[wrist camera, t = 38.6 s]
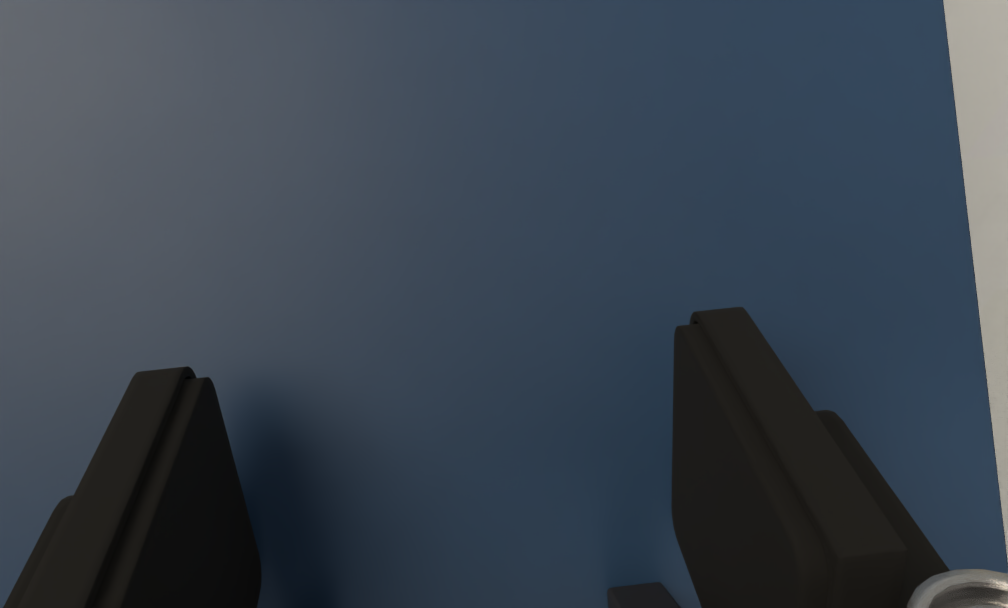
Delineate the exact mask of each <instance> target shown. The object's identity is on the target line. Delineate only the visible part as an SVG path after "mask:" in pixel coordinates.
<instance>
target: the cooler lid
mask: <svg viewBox="0 0 1008 608" xmlns="http://www.w3.org/2000/svg"><path fill="white" fill-rule="evenodd" d="M732 307H743V308H744V309H745V310H746V311H747V312H748V314H749V315H750V317H751V318H752V320H753V321H754V323H755V324H756V326H757V327H758V329H759V330H760V332H761V333H762V335H763V336H764V338H765V339H766V340H767V342H768V343H769V345H770V346H771V348H772V349H773V351H774V352H775V354H776V355H777V357H778V358H779V360H780V361H781V363H782V364H783V366H784V367H785V369H786V370H787V372H788V373H789V374H790V376H791V377H792V379H793V380H794V382H795V383H796V385H797V386H798V388H799V389H800V391H801V392H802V394H803V395H804V397H805V398H806V400H807V401H808V403H809V404H810V406H811V407H812V409H813V410H814V411H821V410H830V411H833V412H835V413H836V414H837V415H838V416H839V417H840V418H841V419H842V420H843V421H844V423H845V424H846V425H847V427H848V428H849V430H850V431H851V433H852V434H853V435H854V437H855V438H856V440H857V441H858V442H859V444H860V445H861V447H862V448H863V449H864V451H865V452H866V454H867V455H868V456H869V458H870V459H871V461H872V462H873V463H874V465H875V466H876V468H877V469H878V470H879V472H880V473H881V475H882V476H883V477H884V479H885V480H886V482H887V483H888V484H889V486H890V487H891V489H892V490H893V491H894V493H895V494H896V496H897V497H898V498H899V500H900V501H901V503H902V504H903V505H904V507H905V508H906V510H907V511H908V512H909V514H910V515H911V517H912V518H913V519H914V521H915V522H916V524H917V525H918V526H919V528H920V529H921V531H922V532H923V533H924V535H925V536H926V538H927V539H928V540H929V542H930V543H931V545H932V546H933V548H934V549H935V550H936V552H937V553H938V555H939V556H940V557H941V559H942V560H943V562H944V563H945V564H946V566H947V567H948V569H949V570H950V571H952V570H955V569H985V570H990V571H995V572H1001V573H1006V574H1008V562H1007V553H1006V544H1005V536H1004V527H1003V518H1002V509H1001V501H1000V492H999V483H998V475H997V466H996V457H995V448H994V440H993V431H992V422H991V414H990V405H989V396H988V387H987V379H986V370H985V361H984V353H983V344H982V335H981V327H980V318H979V309H978V300H977V292H976V283H975V274H974V266H973V257H972V248H971V239H970V231H969V222H968V213H967V205H966V196H965V187H964V178H963V170H962V161H961V152H960V144H959V135H958V126H957V118H956V109H955V100H954V91H953V83H952V74H951V65H950V57H949V48H948V39H947V30H946V22H945V13H944V4H943V0H0V608H3V607H4V605H5V603H6V601H7V599H8V597H9V595H10V593H11V591H12V589H13V587H14V585H15V584H16V582H17V580H18V578H19V576H20V574H21V572H22V570H23V568H24V566H25V564H26V562H27V560H28V558H29V556H30V555H31V553H32V551H33V549H34V547H35V545H36V543H37V541H38V539H39V537H40V535H41V533H42V531H43V529H44V528H45V526H46V524H47V522H48V520H49V518H50V516H51V514H52V512H53V510H54V509H55V507H56V506H57V505H58V503H59V502H60V501H61V500H62V499H64V498H66V497H67V496H71V495H74V493H75V491H76V489H77V487H78V485H79V483H80V481H81V479H82V477H83V475H84V473H85V471H86V469H87V467H88V465H89V463H90V461H91V459H92V457H93V455H94V453H95V451H96V449H97V447H98V445H99V443H100V441H101V439H102V437H103V435H104V433H105V431H106V429H107V427H108V425H109V423H110V421H111V419H112V417H113V415H114V413H115V411H116V409H117V407H118V405H119V403H120V401H121V399H122V397H123V395H124V393H125V391H126V389H127V387H128V385H129V383H130V381H131V379H132V377H133V376H134V375H135V373H136V372H140V371H149V370H158V369H167V368H177V367H186V366H189V367H190V368H192V370H193V371H194V373H195V375H196V377H197V378H202V377H209V378H210V379H211V380H212V382H213V384H214V387H215V390H216V393H217V397H218V401H219V405H220V409H221V412H222V416H223V420H224V424H225V427H226V431H227V435H228V439H229V442H230V446H231V450H232V454H233V458H234V461H235V465H236V469H237V473H238V476H239V480H240V484H241V488H242V492H243V495H244V499H245V503H246V507H247V510H248V514H249V518H250V522H251V525H252V529H253V533H254V537H255V541H256V544H257V548H258V552H259V556H260V562H261V589H260V594H259V599H258V605H257V608H702V607H701V605H700V602H699V599H698V596H697V594H696V591H695V588H694V585H693V583H692V580H691V577H690V574H689V572H688V569H687V566H686V563H685V561H684V558H683V555H682V553H681V550H680V547H679V544H678V542H677V538H676V535H675V531H674V526H673V520H672V507H671V501H672V437H673V373H674V333H675V328H676V327H677V326H681V325H689V323H690V318H691V315H692V313H693V312H695V311H704V310H713V309H723V308H732Z"/></svg>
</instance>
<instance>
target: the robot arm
mask: <svg viewBox="0 0 1008 608" xmlns="http://www.w3.org/2000/svg"><path fill="white" fill-rule="evenodd" d="M671 507H672V520H673V526H674V531H675V535H676V538H677V542H678V544H679V547H680V550H681V553H682V555H683V558H684V561H685V563H686V566H687V569H688V572H689V574H690V577H691V580H692V583H693V585H694V588H695V591H696V594H697V596H698V599H699V602H700V605H701V607H702V608H1008V574H1006V573H1001V572H995V571H990V570H985V569H955V570H952V571H950V570H949V569H948V567H947V566H946V564H945V563H944V562H943V560H942V559H941V557H940V556H939V555H938V553H937V552H936V550H935V549H934V548H933V546H932V545H931V543H930V542H929V540H928V539H927V538H926V536H925V535H924V533H923V532H922V531H921V529H920V528H919V526H918V525H917V524H916V522H915V521H914V519H913V518H912V517H911V515H910V514H909V512H908V511H907V510H906V508H905V507H904V505H903V504H902V503H901V501H900V500H899V498H898V497H897V496H896V494H895V493H894V491H893V490H892V489H891V487H890V486H889V484H888V483H887V482H886V480H885V479H884V477H883V476H882V475H881V473H880V472H879V470H878V469H877V468H876V466H875V465H874V463H873V462H872V461H871V459H870V458H869V456H868V455H867V454H866V452H865V451H864V449H863V448H862V447H861V445H860V444H859V442H858V441H857V440H856V438H855V437H854V435H853V434H852V433H851V431H850V430H849V428H848V427H847V425H846V424H845V423H844V421H843V420H842V419H841V418H840V417H839V416H838V415H837V414H836V413H835V412H833V411H830V410H821V411H814V410H813V409H812V407H811V406H810V404H809V403H808V401H807V400H806V398H805V397H804V395H803V394H802V392H801V391H800V389H799V388H798V386H797V385H796V383H795V382H794V380H793V379H792V377H791V376H790V374H789V373H788V372H787V370H786V369H785V367H784V366H783V364H782V363H781V361H780V360H779V358H778V357H777V355H776V354H775V352H774V351H773V349H772V348H771V346H770V345H769V343H768V342H767V340H766V339H765V338H764V336H763V335H762V333H761V332H760V330H759V329H758V327H757V326H756V324H755V323H754V321H753V320H752V318H751V317H750V315H749V314H748V312H747V311H746V310H745V309H744V308H743V307H732V308H723V309H713V310H704V311H695V312H693V313H692V315H691V318H690V323H689V325H681V326H677V327H676V328H675V333H674V373H673V437H672V501H671ZM260 589H261V562H260V556H259V552H258V548H257V544H256V541H255V537H254V533H253V529H252V525H251V522H250V518H249V514H248V510H247V507H246V503H245V499H244V495H243V492H242V488H241V484H240V480H239V476H238V473H237V469H236V465H235V461H234V458H233V454H232V450H231V446H230V442H229V439H228V435H227V431H226V427H225V424H224V420H223V416H222V412H221V409H220V405H219V401H218V397H217V393H216V390H215V387H214V384H213V382H212V380H211V379H210V378H209V377H202V378H197V377H196V375H195V373H194V371H193V370H192V368H190V367H189V366H186V367H177V368H167V369H158V370H149V371H140V372H136V373H135V375H134V376H133V377H132V379H131V381H130V383H129V385H128V387H127V389H126V391H125V393H124V395H123V397H122V399H121V401H120V403H119V405H118V407H117V409H116V411H115V413H114V415H113V417H112V419H111V421H110V423H109V425H108V427H107V429H106V431H105V433H104V435H103V437H102V439H101V441H100V443H99V445H98V447H97V449H96V451H95V453H94V455H93V457H92V459H91V461H90V463H89V465H88V467H87V469H86V471H85V473H84V475H83V477H82V479H81V481H80V483H79V485H78V487H77V489H76V491H75V493H74V495H71V496H67V497H66V498H64V499H62V500H61V501H60V502H59V503H58V505H57V506H56V507H55V509H54V510H53V512H52V514H51V516H50V518H49V520H48V522H47V524H46V526H45V528H44V529H43V531H42V533H41V535H40V537H39V539H38V541H37V543H36V545H35V547H34V549H33V551H32V553H31V555H30V556H29V558H28V560H27V562H26V564H25V566H24V568H23V570H22V572H21V574H20V576H19V578H18V580H17V582H16V584H15V585H14V587H13V589H12V591H11V593H10V595H9V597H8V599H7V601H6V603H5V605H4V607H3V608H257V605H258V599H259V594H260Z"/></svg>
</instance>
